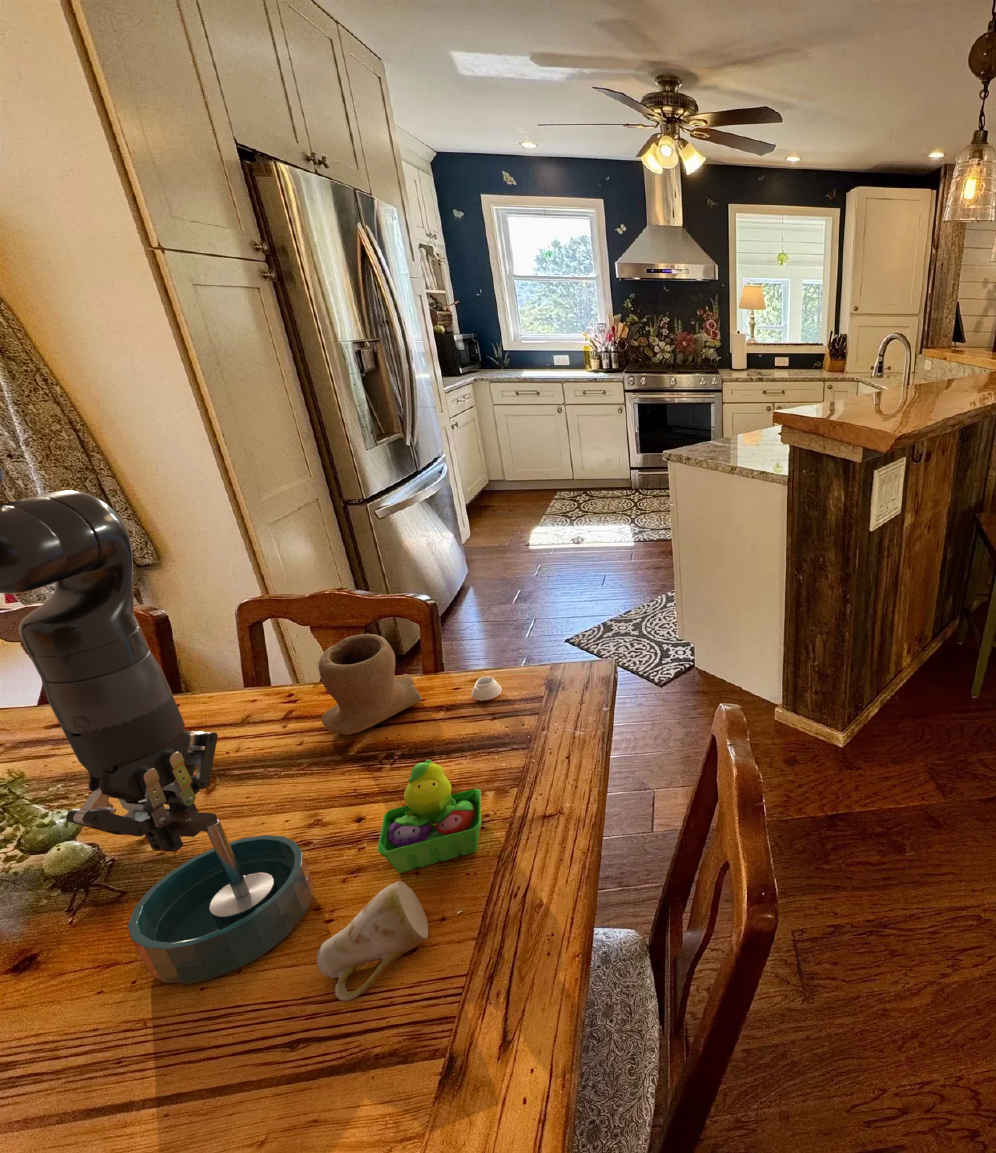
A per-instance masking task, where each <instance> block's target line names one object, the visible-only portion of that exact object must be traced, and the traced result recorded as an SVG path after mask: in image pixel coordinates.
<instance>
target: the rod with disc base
mask: <svg viewBox="0 0 996 1153" xmlns="http://www.w3.org/2000/svg"><path fill="white" fill-rule="evenodd" d="M166 812H167V814H168V817H169V820H172V822H173V824H174V826H175V828H176V830H188V831H201V832H202V833H203V832H204V833H207V837H208V839H209V840H210V843H211V846H212V847H213V848H214V850H215V852H216V854H217V856H218V859H219V861H220V863H221V866H222V868H223V870H224V872H225V875H226V877H227V879H228V882H229V884H228V885H226V886H225V887H224V888H222V889H221V890H220V891H219V892H218V893H217V894H216V895H215V896H214V897H213V899H212V900H211V902H210V905H209V911H210V913H211V915H212V917H213V919H214V922H215V924H216V926H217V928H218V929H220V930H222V929H224V928H226V927H228V926H229V925H231V924H233V923H235V922H237V921H239V920H241V919H242V918H244V917H246V916H248V915H249V914H251V913H252V912H253V911H255V910H256V909H257V908H259V907H260V906H261V905H263V904H264V903H266V902H267V901H268V900H270V899H271V898H272V897H273V895H274V894H275V893H276V892H277V891H278V888H277V885H276V883H275V880H274V878H273V877H272V876H271V875H270V874H267V873H254V874H249V875H246V876H243V875H242V872H241V870H240V868H239V865H238V863H237V860H236V858H235V856H234V853H233V851H232V849H231V846H230V844H229V839H228V837H227V835H226V833H225V830H224V827H223V825H222V823H221V820H220V819H219V818H218V816H217V814H216V813H214V812H201V811H200V812H199V811H198V812H188V811H173V810H166ZM122 816H123V817H127V818H130V819H132V818H131V815H130V813H129V811H128V812H127V813H125V814H124V815H122Z"/></svg>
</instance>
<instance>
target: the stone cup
mask: <svg viewBox="0 0 996 1153" xmlns="http://www.w3.org/2000/svg"><path fill="white" fill-rule="evenodd" d="M317 668H318V672H319V677H320V680H321V683H322V686H323V687H324V689H325V690H326V692H327V693H328V694H329V695H330V696H331V697H332V698H333V700H334V701H335V702H336V703H337V704H336V705H334V706H332V707H331V708H328V710H326V711H325V712H324V713H323V714H322V716H321V722H322V725H323V727H324V728H325V729H326V730H328V731H329V732H330V733H332V734H335V735H344V736H349V735H355V734H357V733H360V732H363V731H365V730H368V729H370V728H373V727H374V726H376V725H378V724H380V723H382V722H384V721H386V720H388V719H390V718H392V717H394V716H395V715H397V714H399V713H401V712H403V711H404V710H406V709H409V708H410V707H412V706H414V705H416V704H418V703H419V702H421V701H422V699H423V698H422V694H421V693H420V692H419V691H418V689H417V687H416V686H415V683H414V678H413V677H412V676H411V675H409V674H408V673H404V674H401V675H399V676H398V677H407V678H397V677H395V676H396V673H395V672H396V655H395V651H394V650H393V648H392V646H391V644H390V643H389V642H388V641H387V639H386V638H384V637H383V636H380V635H379V634H372V633H361V634H356V635H351V636H348V637H345V638H343V639H341V640H340V641H338V642H337V643H335V644H333V645H332V646H329V647H328V648H326V649H325V650H324V651H323V653H322V654H321V655H320V657H319V660H318V667H317Z"/></svg>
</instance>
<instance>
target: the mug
mask: <svg viewBox="0 0 996 1153" xmlns="http://www.w3.org/2000/svg"><path fill="white" fill-rule="evenodd" d="M428 935H429V923H428V919H427V916H426V913H425V911H424V908H423V906H422V904H421V902H420V901H419V898H418V896H417V895H416V893H415V892H414V890H413V889H412V888H411V887H410V886H408V885H407V884H406V883H405V882H403V881H402V880H398V881H396V882H394V883H392V884H391V883H390V884H388V885H387V886H386V887H384V888H382V889H381V890H379V891H378V892H377V893H376V894H375V895H374V896H373V897H372V898H371V899H370V900H369V901H368V902H367V903H366V904H365V905H364V906H363V908H362V909H361V910H360V911H359V912H358V914H357V915H356V916H355V917H354V918H353V919H352V920H351V921H350V922H349V923H348V924H347V925H346V926H345V927H344V928H342V929H341V930H339V931H338V932H337V933H335V934H334V935H332V936H331V937H329V938H328V939H326V940H324V941H323V942H322V944H321V945H320V947H319V950H318V952H317V954H316V965H317V968H318V970H319V972H320V973H321V974H322V975H323V976H324V977H327V978H331V979H338V980H337V983H336V984H335V987H334V995H335V997H336V998H337V999H338V1000H339V1001H342V1002H346V1001H351V1000H354V999H356V998H358V997H359V996H361V995H362V994H364V993H365V992H367V990H368V989H370V988H371V987H372V985H373V984H374V983H375V982H376V981H377V980H378V978H379V977H380V976H381V975H382V974H383V972H384V971H385V970H386V969H387V968H388V967H389V966H391V964H392V963H394V962H395V961H397V959H398V958H399V957H400V956H401V955H403V954H405V953H407V952H409V951H411V950H413V949H414V948H416V947H417V946H419V945H420V944H421V943H423V942H424V941H426V940H427V939H428ZM380 960H381V962H380V963H379V964H378V966H377V967H376V968H375V969H374V971H373V973H372V974H371V975H370V976H369V977H368V979H366V980H365V982H364V983H363V984H362V985H361V986H359V987H358V988H356V989H354V990H350V991H348V990H347V988H346V982H347V979H348V978H350V976H351V975H353V973H354V972H355V971H356V969H357V968H358V967H360V966H362V965H365V964H367V963H371V962H375V961H376V962H377V961H380Z"/></svg>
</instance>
